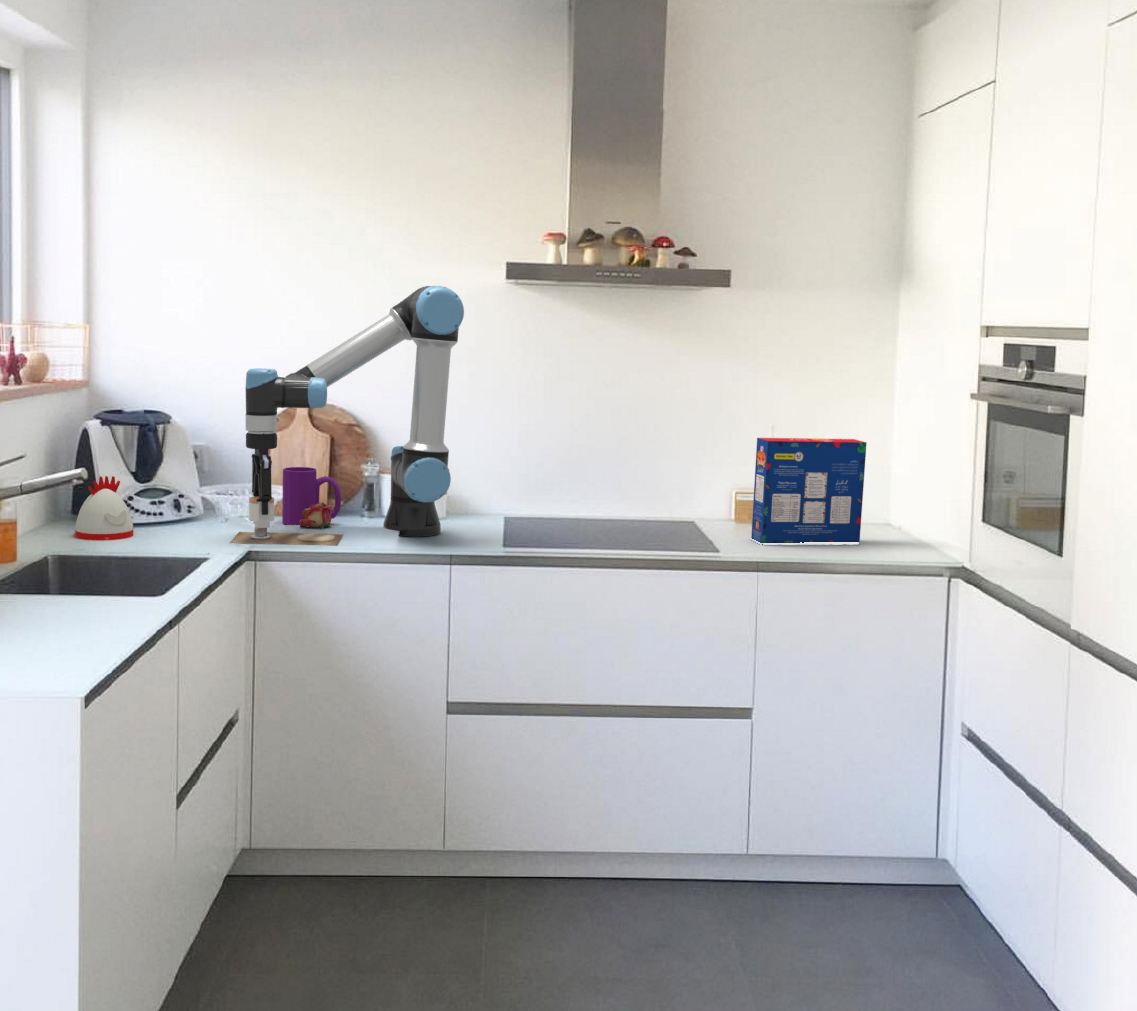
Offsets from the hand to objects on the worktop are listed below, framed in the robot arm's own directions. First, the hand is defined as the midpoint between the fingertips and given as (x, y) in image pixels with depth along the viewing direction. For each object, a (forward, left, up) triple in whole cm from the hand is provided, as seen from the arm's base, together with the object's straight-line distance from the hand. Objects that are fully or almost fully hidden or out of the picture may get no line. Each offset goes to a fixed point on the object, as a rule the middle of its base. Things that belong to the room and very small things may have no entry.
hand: (261, 525), depth 345 cm
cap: (0, 0, +1) cm, 1 cm away
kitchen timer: (+40, -7, -5) cm, 41 cm away
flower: (-11, -19, -5) cm, 23 cm away
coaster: (-13, 0, -3) cm, 14 cm away
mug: (-9, -31, -5) cm, 33 cm away
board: (-6, 0, -5) cm, 8 cm away
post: (0, 0, -3) cm, 3 cm away
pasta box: (-142, -20, -5) cm, 144 cm away
